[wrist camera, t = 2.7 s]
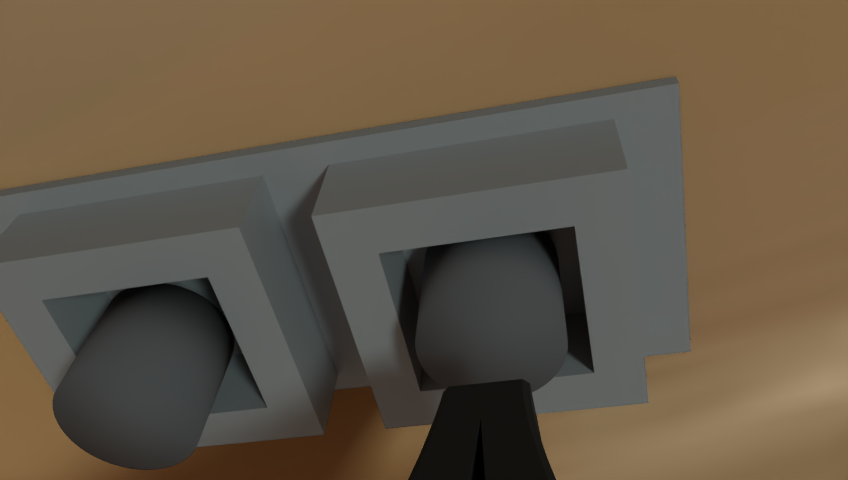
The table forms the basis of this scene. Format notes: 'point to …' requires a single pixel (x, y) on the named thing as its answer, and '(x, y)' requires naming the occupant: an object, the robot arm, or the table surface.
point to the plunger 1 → (146, 377)
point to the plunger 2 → (492, 311)
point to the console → (371, 252)
